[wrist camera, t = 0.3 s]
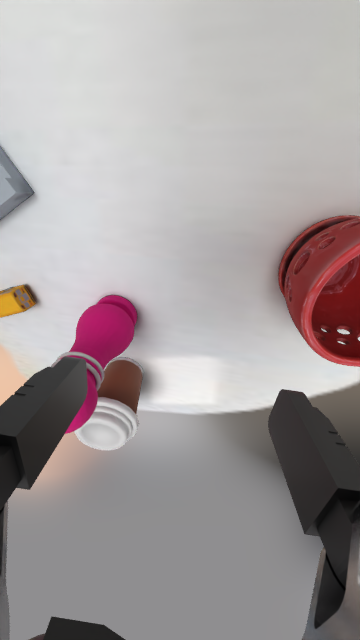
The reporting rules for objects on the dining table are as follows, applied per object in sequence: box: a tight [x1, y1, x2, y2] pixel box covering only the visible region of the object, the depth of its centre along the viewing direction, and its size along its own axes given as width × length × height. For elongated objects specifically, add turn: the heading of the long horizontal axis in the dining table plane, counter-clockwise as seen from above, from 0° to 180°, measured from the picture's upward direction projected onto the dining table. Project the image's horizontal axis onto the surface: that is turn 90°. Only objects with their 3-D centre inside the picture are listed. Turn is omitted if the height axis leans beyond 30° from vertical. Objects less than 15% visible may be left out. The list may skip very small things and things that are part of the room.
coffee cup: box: [74, 357, 143, 450], centre depth 34 cm, size 9×9×12 cm
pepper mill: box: [51, 295, 137, 434], centre depth 25 cm, size 7×7×20 cm
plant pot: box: [279, 215, 360, 367], centre depth 23 cm, size 13×13×12 cm
